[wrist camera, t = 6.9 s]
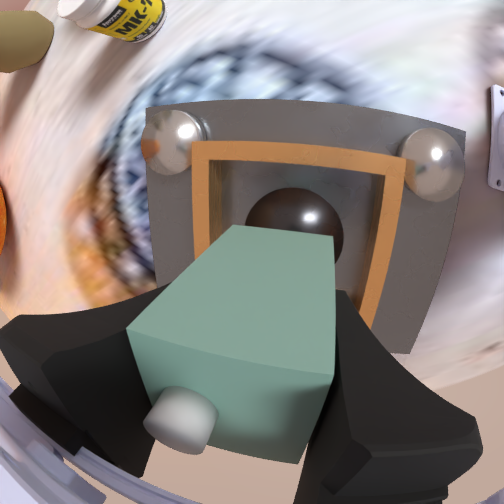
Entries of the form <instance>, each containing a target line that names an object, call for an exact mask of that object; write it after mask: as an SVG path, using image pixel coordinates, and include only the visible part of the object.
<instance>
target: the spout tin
mask: <svg viewBox="0 0 504 504" xmlns="http://www.w3.org/2000/svg"><path fill="white" fill-rule="evenodd" d="M335 325H336V305H335V264H334V243H333V236H327V235H320V234H311V233H303V232H295V231H286V230H278V229H269V228H260V227H251V226H242V225H232V226H231V227H230V228H229V229H228V230H227V231H226V232H224V233H223V234H222V235H221V236H220V237H219V238H218V239H217V240H216V241H215V242H214V243H213V244H212V245H211V246H210V247H208V248H207V249H206V250H205V251H204V252H203V253H202V254H201V255H200V256H199V257H198V258H197V259H196V260H195V261H194V262H193V263H192V264H191V265H190V266H189V267H187V268H186V269H185V270H184V271H183V272H182V273H181V274H180V275H179V276H178V277H177V278H176V279H175V280H174V281H173V282H172V283H171V284H170V285H169V286H168V287H167V288H166V289H165V290H164V291H163V292H162V293H161V294H160V295H159V296H158V297H157V298H156V299H155V300H154V301H153V302H152V303H151V304H150V305H149V306H148V307H147V308H146V309H145V310H144V311H143V312H142V313H141V314H140V315H139V316H138V317H137V318H136V319H135V320H134V321H133V322H132V323H131V324H130V325H129V326H128V327H127V328H126V330H127V334H128V337H129V341H130V344H131V347H132V350H133V354H134V357H135V360H136V363H137V366H138V369H139V372H140V375H141V377H142V380H143V383H144V386H145V388H146V391H147V394H148V396H149V399H150V402H151V404H152V409H151V410H150V412H149V413H148V415H147V416H146V418H145V419H144V421H143V425H144V427H145V429H146V430H147V431H148V433H149V434H150V435H152V436H153V437H154V438H155V439H156V440H158V441H159V442H161V443H162V444H164V445H166V446H168V447H170V448H172V449H174V450H177V451H179V452H182V453H187V454H193V455H197V454H201V453H202V452H203V450H204V448H205V446H206V445H209V446H213V447H216V448H220V449H224V450H227V451H231V452H235V453H239V454H243V455H248V456H253V457H257V458H262V459H268V460H273V461H279V462H285V463H292V464H298V463H299V461H300V459H301V457H302V455H303V452H304V450H305V448H306V445H307V444H308V441H309V439H310V437H311V434H312V432H313V430H314V427H315V425H316V422H317V420H318V417H319V415H320V412H321V410H322V407H323V404H324V402H325V399H326V396H327V394H328V391H329V388H330V385H331V382H332V379H333V377H334V366H335Z"/></svg>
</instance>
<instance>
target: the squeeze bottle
mask: <svg viewBox="0 0 504 504" xmlns="http://www.w3.org/2000/svg"><path fill="white" fill-rule="evenodd" d="M53 33H54V26H53V23H52V22H51V21H49V20H48V19H46V18H45V17H44V16H42V15H41V14H39V13H38V12H36V11H0V72H3V73H11V72H14V71H16V70H19V69H22V68H25V67H27V66H30V65H33V64H36V63H38V62H39V61H40V60H41V59H42V58H43V56H44V54H45V53H46V51H47V50H48V47H49V45H50V43H51V40H52V37H53Z"/></svg>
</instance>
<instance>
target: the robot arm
mask: <svg viewBox="0 0 504 504" xmlns="http://www.w3.org/2000/svg"><path fill="white" fill-rule="evenodd" d="M500 91H501V92H502V95H501V94H500ZM491 103H492V130H491V150H490V162H489V171H488V179H487V181H488V185H489V186H490V187H492V188H495V189H498V190H501V191H504V88H503V87H501V86H498V85H496V84H495V85H492V86H491ZM497 180H498V181H499V183H498V185H497ZM171 283H172V282H170V283H168V284H166V285H164V286H161V287H159V288H157V289H154V290H152V291H149V292H147V293H144V294H142V295H139V296H136V297H134V298H131V299H128V300H125V301H122V302H118V303H115V304H111V305H108V306H103V307H99V308H94V309H89V310H84V311H78V312H71V313H62V314H49V315H22V314H21V315H19V316H17V317H15V318H14V319H12V320H11V321H10V322H9V323H7V324H6V325H5V326H3V327H2V328H1V329H0V349H1V351H2V353H3V355H4V356H5V358H6V360H7V362H8V364H9V365H10V367H11V369H12V371H13V372H14V374H15V375H16V377H17V378H18V380H19V382H20V383H21V384H20V385H19V386H18V387H17V388H16V389H15V390H13V389H12V388H11V387H10V386H9V385H8V384H7V383H6V382H5V381H4V380H3V379H2V378H1V377H0V504H103V503H104V501H105V500H106V495H105V494H103V493H102V492H100V491H99V490H97V489H96V488H95V487H93V486H92V485H91V484H89V483H88V482H87V481H85V480H84V479H83V478H82V477H80V476H79V475H78V474H77V473H76V472H75V471H74V470H72V469H71V468H70V467H68V466H67V465H66V464H65V463H64V460H63V457H64V458H65V459H67V460H68V461H69V462H71V463H72V464H73V465H75V466H76V467H78V468H79V469H80V470H82V471H83V472H85V473H86V474H88V475H89V476H91V477H92V478H94V479H96V480H97V481H99V482H100V483H102V484H104V485H105V486H107V487H109V488H110V489H112V490H114V491H116V492H117V493H119V494H121V495H123V496H125V497H127V498H128V499H130V500H132V501H134V502H136V503H138V504H201V503H198V502H195V501H192V500H189V499H186V498H183V497H181V496H178V495H175V494H173V493H170V492H168V491H165V490H163V489H161V488H158V487H156V486H154V485H151V484H149V483H147V482H145V481H143V480H141V479H139V478H140V477H142V476H143V474H144V470H145V467H146V464H147V462H148V459H149V456H150V452H151V450H152V447H153V444H154V442H155V438H154V437H153V436H152V435H150V434H149V433H148V431H147V430H146V429H145V427H144V425H143V421H144V419H145V418H146V416H147V415H148V413H149V412H150V410H151V409H152V404H151V402H150V399H149V396H148V394H147V391H146V388H145V386H144V383H143V380H142V377H141V375H140V372H139V369H138V366H137V363H136V360H135V357H134V354H133V350H132V347H131V344H130V341H129V337H128V334H127V330H126V328H127V327H128V326H129V325H130V324H131V323H132V322H133V321H134V320H135V319H136V318H137V317H138V316H139V315H140V314H141V313H142V312H143V311H144V310H145V309H146V308H147V307H148V306H149V305H150V304H151V303H152V302H153V301H154V300H155V299H156V298H157V297H158V296H159V295H160V294H161V293H162V292H163V291H164V290H165V289H166V288H167V287H168V286H169V285H170V284H171ZM335 305H336V325H335V366H334V377H333V379H332V382H331V385H330V388H329V391H328V394H327V396H326V399H325V402H324V404H323V407H322V410H321V412H320V415H319V417H318V420H317V422H316V425H315V427H314V430H313V432H312V434H311V437H310V439H309V441H308V447H307V451H306V456H305V460H304V465H303V469H302V473H301V477H300V481H299V484H298V488H297V492H296V495H295V499H294V502H293V504H442V500H445V499H446V498H447V497H448V485H449V484H450V483H452V482H453V481H455V480H456V479H457V478H459V477H460V476H461V475H463V474H464V473H465V472H467V471H468V470H469V469H470V468H471V467H472V466H473V465H474V464H476V462H477V461H478V459H479V458H480V457H481V455H482V453H483V445H482V441H481V437H480V433H479V429H478V425H477V422H476V419H475V417H474V416H472V415H470V414H468V413H467V412H465V411H463V410H461V409H460V408H458V407H456V406H454V405H453V404H451V403H449V402H447V401H446V400H444V399H443V398H442V397H440V396H439V395H437V394H436V393H435V392H433V391H432V390H430V389H429V388H428V387H426V386H425V385H424V384H422V383H421V382H420V381H419V380H418V379H416V378H415V377H414V376H413V375H412V374H411V373H410V372H408V371H407V370H406V369H405V368H404V367H403V366H402V365H401V364H400V363H399V362H398V361H397V360H396V359H395V358H394V357H393V356H392V355H391V354H390V353H389V352H388V351H387V350H386V349H385V347H384V346H383V345H382V344H381V343H380V342H379V340H378V339H377V338H376V337H375V335H374V334H373V333H372V331H371V330H370V329H369V327H368V326H367V324H366V323H365V321H364V320H363V318H362V317H361V315H360V314H359V312H358V311H357V309H356V308H355V306H354V304H353V303H352V301H351V299H350V298H349V296H348V294H347V293H346V291H345V290H337V289H335ZM62 456H63V457H62ZM476 504H504V488H503V489H501V490H499V491H498V492H496V493H495V494H493V495H491V496H490V497H489V498H488V499H487V500H485V501H482V502H479V503H476Z"/></svg>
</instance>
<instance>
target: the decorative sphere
mask: <svg viewBox="0 0 504 504" xmlns="http://www.w3.org/2000/svg"><path fill="white" fill-rule="evenodd" d="M6 222H7V220H6V206H5V201H4V197H3V193H2V190H1V187H0V255H1V252H2V249H3V245H4V241H5V235H6Z"/></svg>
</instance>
